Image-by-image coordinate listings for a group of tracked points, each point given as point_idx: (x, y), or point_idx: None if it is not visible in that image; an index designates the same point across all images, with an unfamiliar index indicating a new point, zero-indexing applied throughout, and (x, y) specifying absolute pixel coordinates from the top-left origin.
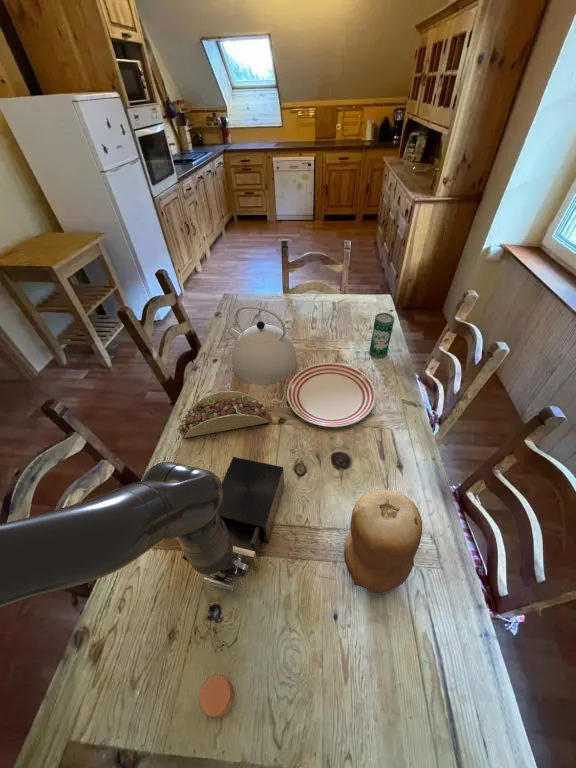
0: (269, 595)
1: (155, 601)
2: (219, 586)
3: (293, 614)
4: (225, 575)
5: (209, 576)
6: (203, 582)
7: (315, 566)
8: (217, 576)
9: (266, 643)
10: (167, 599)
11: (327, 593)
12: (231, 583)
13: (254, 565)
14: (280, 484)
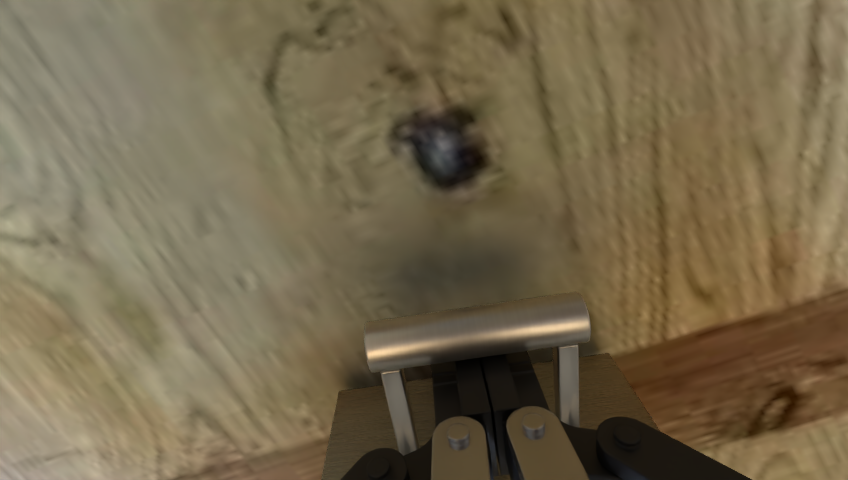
0: (231, 317)
1: (811, 58)
2: (457, 321)
3: (79, 294)
4: (439, 416)
5: (555, 347)
6: (580, 296)
7: (118, 473)
8: (497, 378)
9: (112, 136)
10: (742, 96)
11: (4, 413)
12: (384, 368)
13: (337, 436)
14: None
